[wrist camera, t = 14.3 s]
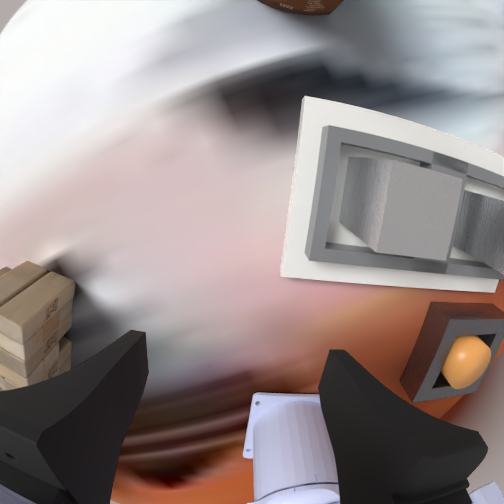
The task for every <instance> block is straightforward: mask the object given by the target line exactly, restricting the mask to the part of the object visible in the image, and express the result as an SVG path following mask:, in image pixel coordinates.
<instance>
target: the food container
mask: <svg viewBox="0 0 504 504" xmlns="http://www.w3.org/2000/svg"><path fill="white" fill-rule="evenodd" d="M258 1H260V2H261V3H263V4H266V5H268V6H270V7H273V8H276V9H279V10H282V11H286V12H290V13H295V14H303V15H325V14H331V13H332V11H333V10H334V9H335V8H336V7H337V6H338V5H339V4H340V3H341V2H342V1H343V0H258Z"/></svg>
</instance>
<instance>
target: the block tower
mask: <svg viewBox="0 0 504 504" xmlns="http://www.w3.org/2000/svg"><path fill="white" fill-rule="evenodd" d="M74 294H75V282H74V281H73V280H71V279H69V278H66V277H64V276H61V275H59V274H57V273H54V272H50V273H48V271H47V269H45V268H43V267H40V266H38V265H36V264H34V263H31V262H29V261H26V262H24V263H22V264H21V265H19V266H17V267H15V268H14V269H10V268H8V267H5V268H3V269H1V270H0V391H5V390H11V389H17V388H21V387H25V386H29V385H32V384H36V383H39V382H42V381H44V380H47V379H50V378H52V377H55V376H58V375H60V374H62V373H64V372H66V371H68V370H70V369H71V352H72V343H71V341H70V340H69V339H66V338H64V337H63V335H64V334H65V333H66V332H67V331H68V330H69V329H70V328H71V327H72V308H73V297H74Z"/></svg>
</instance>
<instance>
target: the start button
mask: <svg viewBox="0 0 504 504" xmlns="http://www.w3.org/2000/svg"><path fill="white" fill-rule="evenodd" d="M490 358H491V350H490V348H489V347H488V346H487V345H486V344H485V343H484V342H483V341H482V340H481V339H480V338H479V337H478V336H477V335H468V336H456V338H455V340H454V343H453V345H452V347H451V350H450V352H449V354H448V356H447V359H446V361H445V363H444V365H443V367H442V369H441V373H442V374H443V375H444V377H445V378H446V379H447V381H448V382H449V383H450V385H451V386H452V387H453V388H454V389H463V388H465V387H468V386H469V385H471V384H472V383H474V382H475V381H476V380H477V379H478V378H479V377H480V376H481V375H482V374H483V373H484V371H485V370H486V368H487V366H488V364H489V362H490Z"/></svg>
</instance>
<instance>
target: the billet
mask: <svg viewBox="0 0 504 504" xmlns="http://www.w3.org/2000/svg"><path fill="white" fill-rule="evenodd" d="M462 180H463V179H461V178H458V177H454V176H451V175H448V174H444V173H441V172H437V171H434V170H430V169H426V168H423V167H419V166H415V165H411V164H407V163H403V162H399V161H395V160H389V159H377V158H364V157H349V156H348V164H347V171H346V178H345V185H344V192H343V198H342V204H341V210H340V216H339V223H341V224H342V225H343V226H344V227H346V228H347V229H348V230H349V231H351V232H352V233H353V234H354V235H356V236H357V237H358V238H359V239H360V240H362V241H363V242H364V243H365V244H366V245H368V246H369V247H370V248H371V249H372V250H374V251H375V252H377V253H386V254H394V255H402V256H411V257H419V258H427V259H435V260H443V261H446V257H447V253H448V250H449V246H450V241H451V237H452V233H453V228H454V224H455V219H456V214H457V209H458V204H459V198H460V192H461V186H462Z"/></svg>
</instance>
